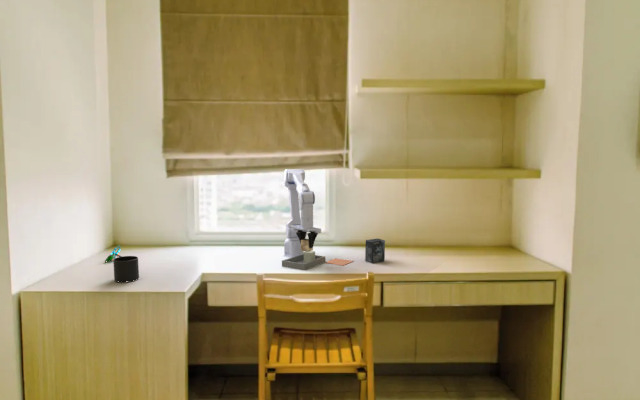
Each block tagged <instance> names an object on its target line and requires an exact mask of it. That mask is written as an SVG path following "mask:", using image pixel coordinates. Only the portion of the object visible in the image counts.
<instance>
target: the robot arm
mask: <svg viewBox="0 0 640 400" xmlns="http://www.w3.org/2000/svg"><path fill="white" fill-rule="evenodd" d="M305 179H306V171H305V170H304V169H303V168H301V169H300V168H299V169H297V168H295V169H293V168H292V169H287V168H286V169H285V170H283V183H284V187H286V188H287V189H288V199H289V200H288V201H289V210H290V211H289V212H290V213H289V214H290V220H289V221H288V222H286V224H285V236H286V238H285V240H284V242H283V243H284V244H283V245H284V246H283V248H284V250H283V252H284V253H283V256H282V257H288V258H291V257H294V256H297V255H300V254H303V253H304V252H305V251H301V240H303V239H306V237H307V239H309V248H313V249H314V244H315V241H316V238H317V237H318V234H321V233H322V228H319V227H315V226H314V204H315V203H316V195H315V192H314V191H312V190H311V189H310V187H309V186H308V184H307V183H306V182H305Z"/></svg>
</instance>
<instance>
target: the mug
mask: <svg viewBox="0 0 640 400" xmlns="http://www.w3.org/2000/svg"><path fill="white" fill-rule="evenodd" d="M113 259H114V260H113V277H114V278H113V279H114V282H115V281H119V282H126V281H133V280H136V279H138V278H140V271H139V257H138V256H134V255H125V256H123V255H122V257H119V256H118V257H115V258H113ZM138 280H139V279H138ZM136 281H137V280H136ZM119 282H118V283H119ZM133 282H134V281H133Z"/></svg>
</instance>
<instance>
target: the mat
mask: <svg viewBox="0 0 640 400" xmlns="http://www.w3.org/2000/svg"><path fill="white" fill-rule="evenodd" d="M353 262H354V260H350V259H344V258H343V259H342V258H338V257H337V258H333V259H330V260H327V261H325V262H324V264H329V265H336V266H342V267H344V266H346V265H349V264H351V263H353Z"/></svg>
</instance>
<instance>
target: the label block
mask: <svg viewBox="0 0 640 400" xmlns="http://www.w3.org/2000/svg"><path fill="white" fill-rule="evenodd" d="M301 251H304V252H305V251H306V252H309V251H314V247H313V248H309V238H305V239H303V240H301Z"/></svg>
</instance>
